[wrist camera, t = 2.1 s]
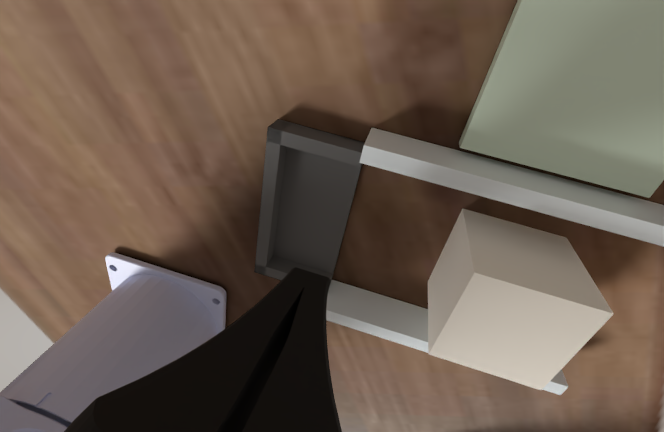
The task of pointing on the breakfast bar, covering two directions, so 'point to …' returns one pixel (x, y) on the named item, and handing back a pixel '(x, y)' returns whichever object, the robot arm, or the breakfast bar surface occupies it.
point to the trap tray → (305, 199)
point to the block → (511, 300)
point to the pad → (578, 92)
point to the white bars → (493, 183)
